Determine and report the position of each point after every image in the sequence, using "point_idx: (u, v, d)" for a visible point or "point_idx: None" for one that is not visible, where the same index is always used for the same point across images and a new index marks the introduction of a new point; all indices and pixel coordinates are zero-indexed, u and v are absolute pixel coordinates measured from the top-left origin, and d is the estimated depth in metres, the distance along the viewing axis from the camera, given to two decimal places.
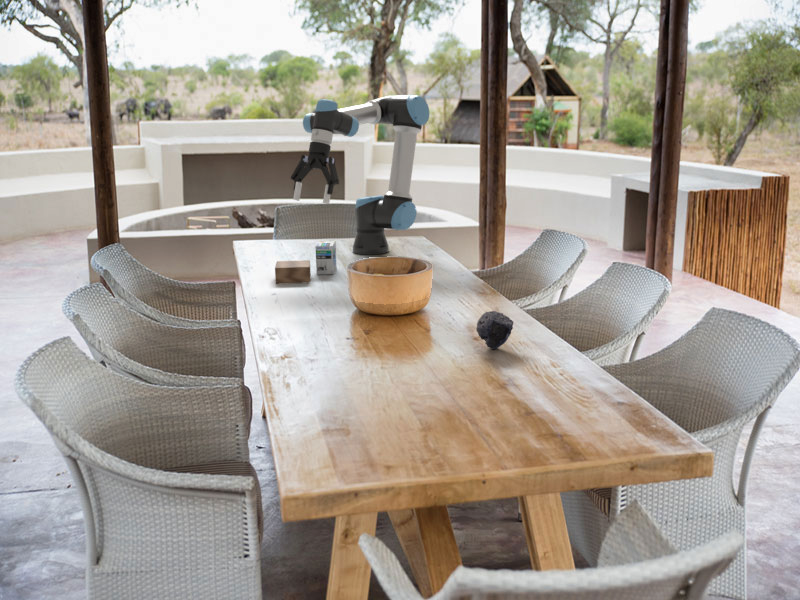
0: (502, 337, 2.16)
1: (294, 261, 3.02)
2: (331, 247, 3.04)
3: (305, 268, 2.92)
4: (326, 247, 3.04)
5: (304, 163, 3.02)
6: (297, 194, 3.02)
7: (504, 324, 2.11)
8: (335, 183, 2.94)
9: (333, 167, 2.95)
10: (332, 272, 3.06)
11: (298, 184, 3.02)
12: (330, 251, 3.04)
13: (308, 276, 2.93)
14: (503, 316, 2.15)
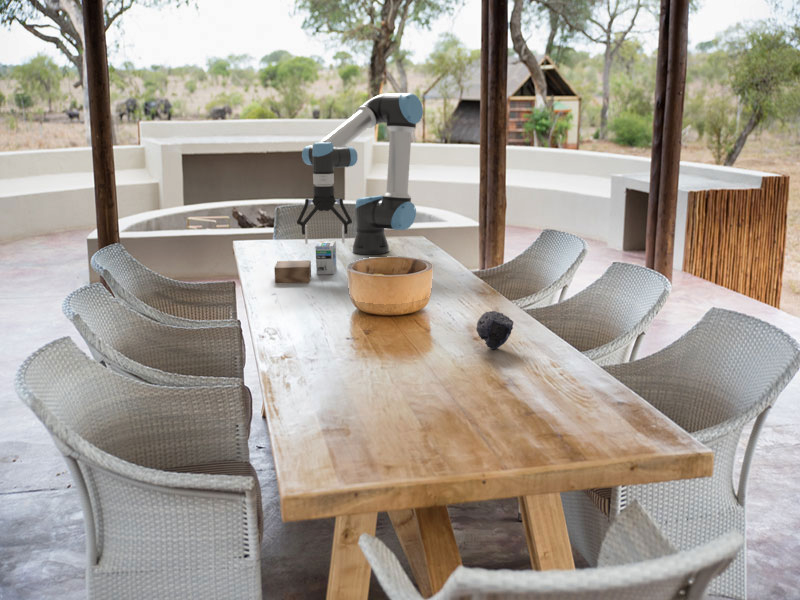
0: (502, 337, 2.16)
1: (294, 261, 3.02)
2: (331, 247, 3.04)
3: (304, 268, 2.92)
4: (326, 247, 3.04)
5: None
6: None
7: (504, 324, 2.11)
8: (351, 222, 3.08)
9: None
10: (332, 272, 3.06)
11: None
12: (330, 251, 3.04)
13: (307, 276, 2.93)
14: (503, 316, 2.15)
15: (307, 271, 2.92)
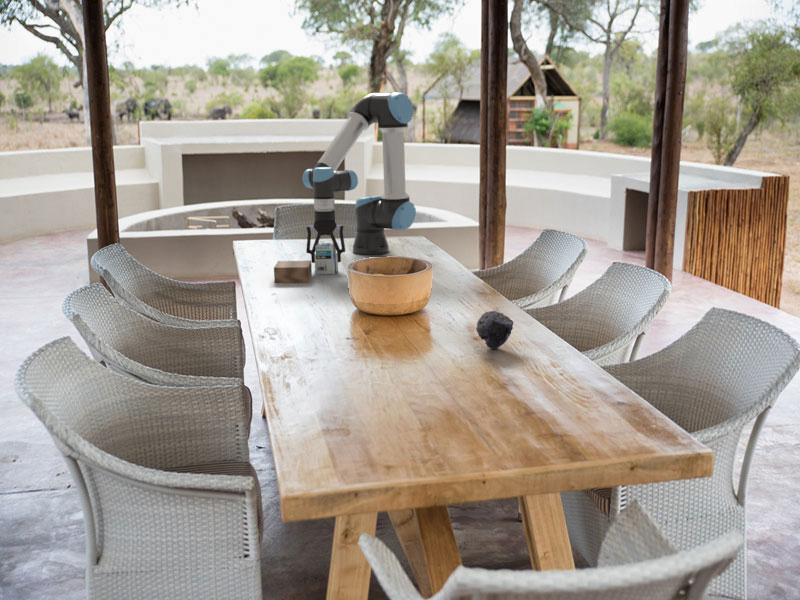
0: (502, 337, 2.16)
1: (295, 261, 3.02)
2: (331, 247, 3.04)
3: (304, 268, 2.92)
4: (326, 247, 3.04)
5: None
6: None
7: (504, 324, 2.11)
8: None
9: None
10: (332, 272, 3.06)
11: None
12: (330, 251, 3.04)
13: (307, 276, 2.93)
14: (503, 316, 2.15)
15: (306, 271, 2.92)
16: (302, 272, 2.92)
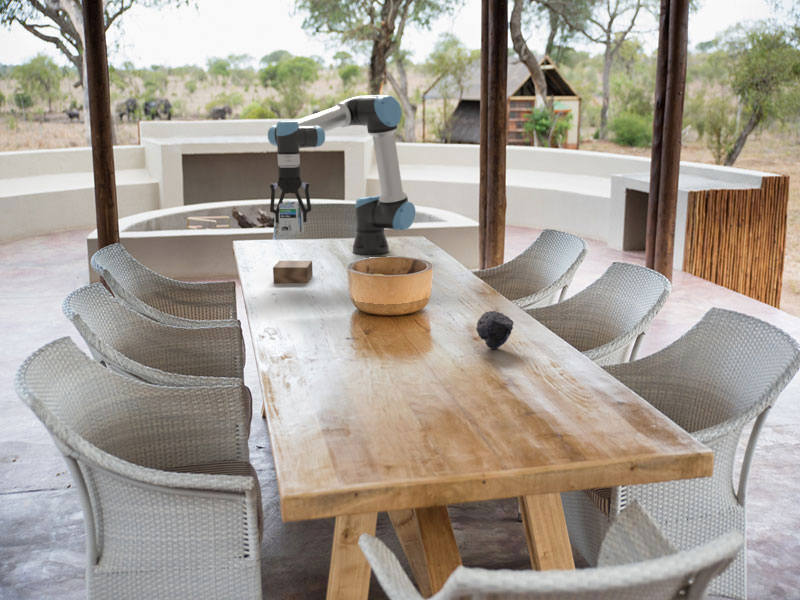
0: (502, 337, 2.16)
1: (296, 261, 3.02)
2: (296, 205, 2.87)
3: (303, 268, 2.92)
4: (290, 205, 2.87)
5: None
6: None
7: (504, 324, 2.11)
8: (310, 210, 2.93)
9: (308, 194, 2.92)
10: (297, 232, 2.90)
11: None
12: (295, 210, 2.88)
13: (305, 277, 2.92)
14: (503, 316, 2.15)
15: (305, 271, 2.92)
16: (301, 272, 2.92)
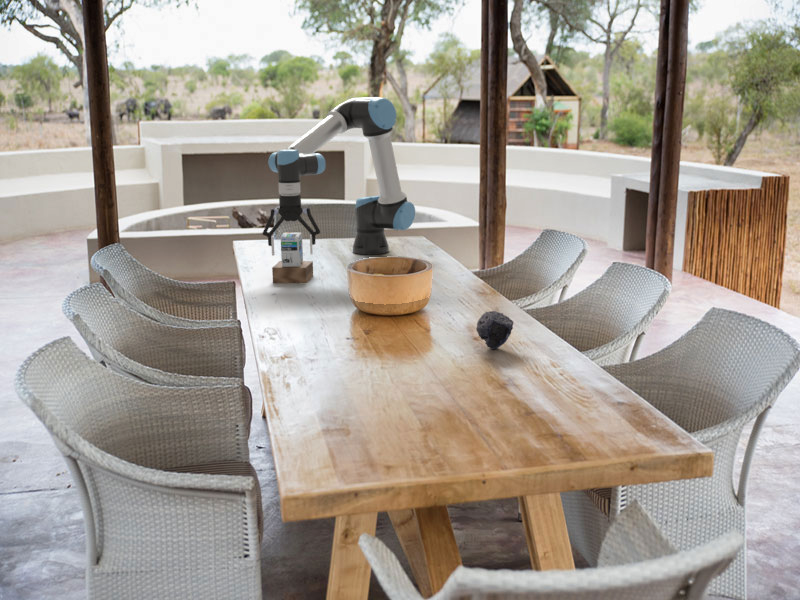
0: (502, 337, 2.16)
1: None
2: (297, 238, 2.90)
3: (301, 269, 2.91)
4: (292, 238, 2.90)
5: None
6: None
7: (504, 324, 2.11)
8: None
9: (312, 217, 2.94)
10: (298, 264, 2.92)
11: (273, 239, 2.94)
12: (296, 242, 2.90)
13: (304, 277, 2.92)
14: (503, 316, 2.15)
15: (304, 272, 2.92)
16: (300, 273, 2.92)
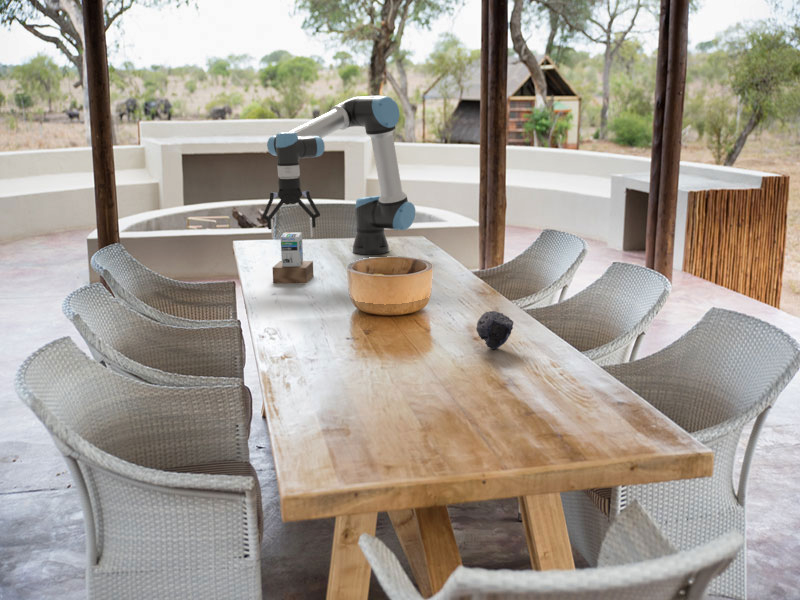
0: (502, 337, 2.16)
1: None
2: (297, 238, 2.90)
3: (302, 269, 2.91)
4: (292, 238, 2.90)
5: None
6: (273, 232, 2.94)
7: (504, 324, 2.11)
8: None
9: (312, 200, 2.92)
10: (298, 264, 2.92)
11: (273, 222, 2.93)
12: (296, 242, 2.90)
13: (305, 277, 2.92)
14: (503, 316, 2.15)
15: (304, 272, 2.91)
16: (300, 272, 2.92)
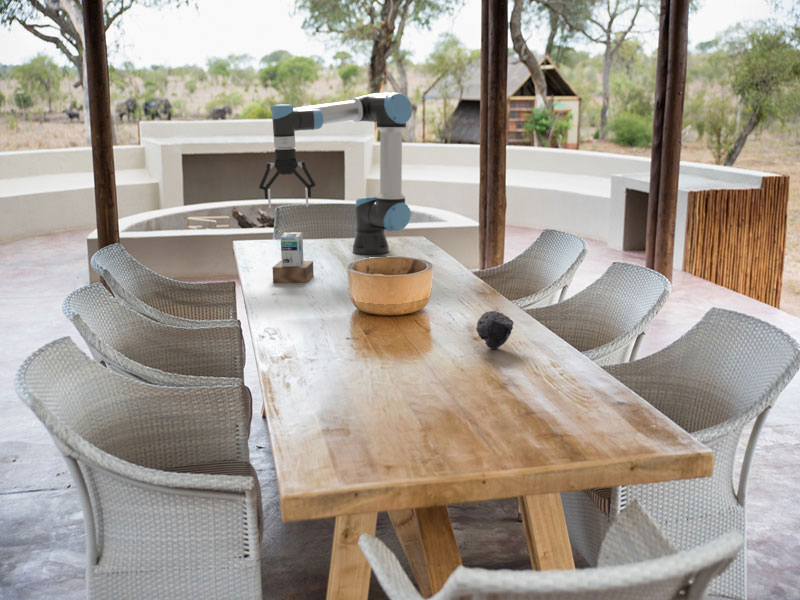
0: (502, 337, 2.16)
1: None
2: (297, 238, 2.90)
3: (302, 269, 2.91)
4: (292, 238, 2.90)
5: None
6: (270, 202, 3.04)
7: (504, 324, 2.11)
8: (314, 185, 3.04)
9: (307, 170, 3.03)
10: (298, 264, 2.92)
11: (269, 192, 3.02)
12: (296, 242, 2.90)
13: (305, 277, 2.92)
14: (503, 316, 2.15)
15: (304, 272, 2.91)
16: (300, 272, 2.92)
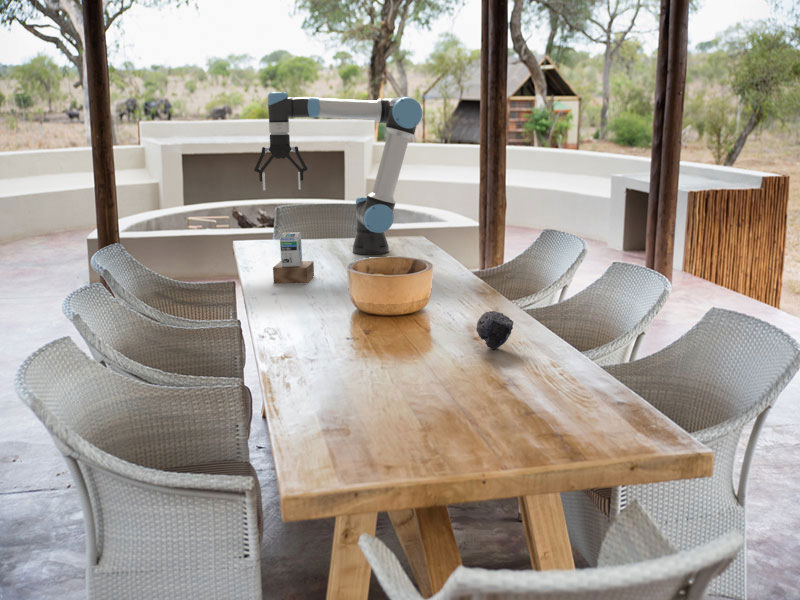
0: (502, 337, 2.16)
1: None
2: (296, 238, 2.90)
3: (302, 269, 2.91)
4: (291, 238, 2.90)
5: (264, 154, 3.19)
6: (264, 184, 3.21)
7: (504, 324, 2.11)
8: None
9: (300, 155, 3.20)
10: (298, 264, 2.92)
11: (264, 175, 3.20)
12: (295, 242, 2.90)
13: (305, 277, 2.92)
14: (503, 316, 2.15)
15: (305, 272, 2.91)
16: (301, 272, 2.92)
